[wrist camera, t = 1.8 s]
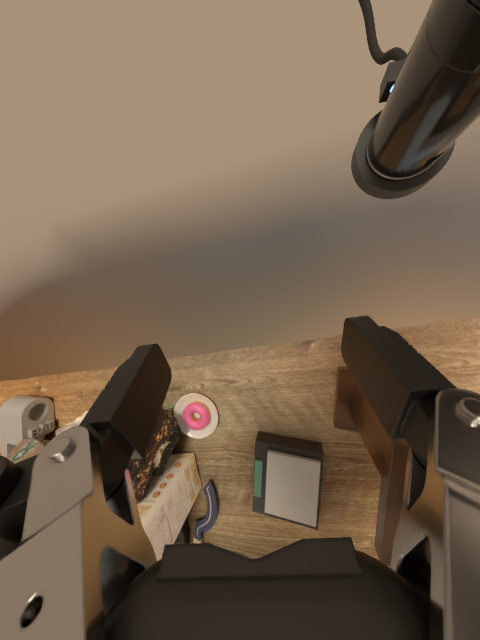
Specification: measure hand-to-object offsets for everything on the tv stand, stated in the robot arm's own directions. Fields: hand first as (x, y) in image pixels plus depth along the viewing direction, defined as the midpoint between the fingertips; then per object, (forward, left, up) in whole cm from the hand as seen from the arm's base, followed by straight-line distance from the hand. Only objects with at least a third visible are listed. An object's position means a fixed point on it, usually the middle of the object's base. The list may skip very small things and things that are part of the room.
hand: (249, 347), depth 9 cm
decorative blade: (+40, -9, -23) cm, 47 cm away
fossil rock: (+28, -17, -16) cm, 37 cm away
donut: (+18, -15, -25) cm, 34 cm away
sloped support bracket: (+29, -56, -21) cm, 67 cm away
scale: (+25, +2, -25) cm, 35 cm away
